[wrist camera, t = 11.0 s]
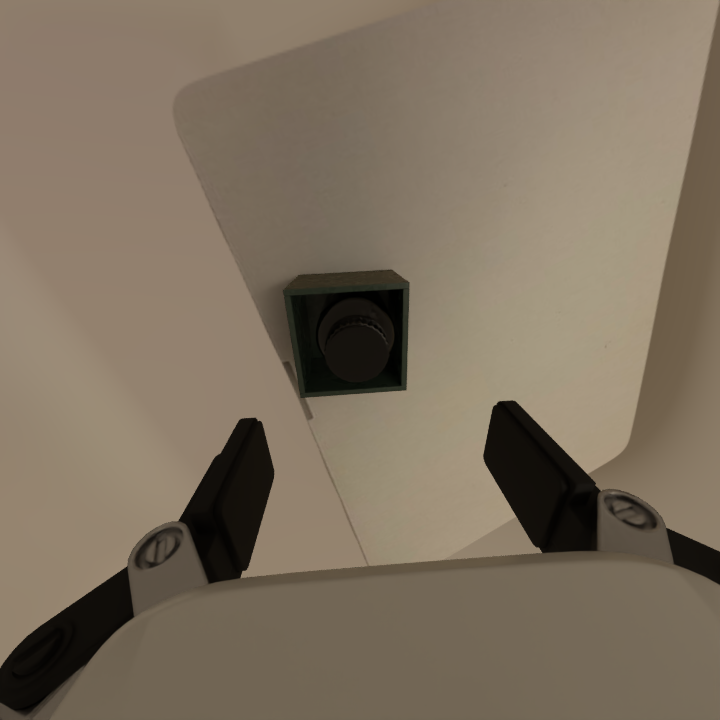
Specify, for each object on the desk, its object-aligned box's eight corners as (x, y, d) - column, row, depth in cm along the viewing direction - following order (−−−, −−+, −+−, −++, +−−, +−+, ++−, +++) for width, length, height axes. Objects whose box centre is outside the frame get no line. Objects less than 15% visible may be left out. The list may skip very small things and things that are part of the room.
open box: (298, 274, 29) (282, 289, 21) (391, 269, 29) (409, 282, 22) (310, 360, 33) (300, 398, 26) (391, 354, 34) (406, 390, 26)
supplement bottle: (349, 265, 29) (354, 285, 18) (396, 307, 31) (425, 348, 20) (309, 314, 30) (291, 359, 20) (355, 351, 33) (362, 409, 22)
